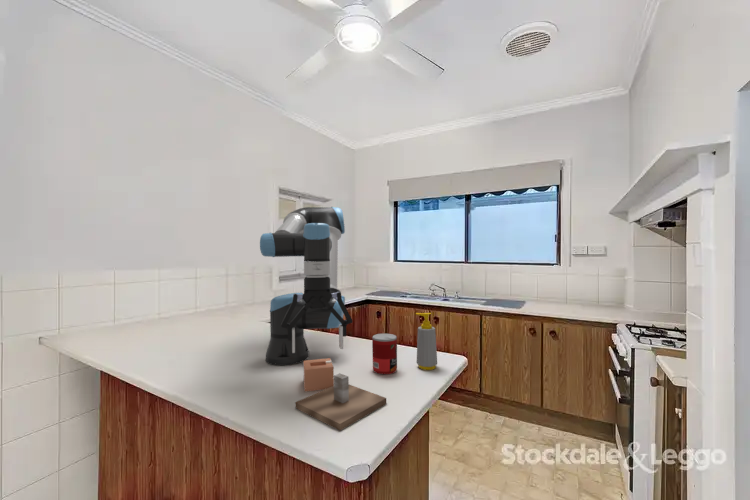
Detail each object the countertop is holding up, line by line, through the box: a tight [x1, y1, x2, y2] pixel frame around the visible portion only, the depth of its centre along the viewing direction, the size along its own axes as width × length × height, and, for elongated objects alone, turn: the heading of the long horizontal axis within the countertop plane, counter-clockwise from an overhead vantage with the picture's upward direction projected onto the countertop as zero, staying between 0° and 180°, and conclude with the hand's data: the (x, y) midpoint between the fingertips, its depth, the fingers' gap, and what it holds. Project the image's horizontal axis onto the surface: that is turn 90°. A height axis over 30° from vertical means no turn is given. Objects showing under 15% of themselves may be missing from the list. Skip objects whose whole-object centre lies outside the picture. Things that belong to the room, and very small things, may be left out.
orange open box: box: [303, 357, 335, 392], centre depth 95 cm, size 8×8×6 cm
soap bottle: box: [415, 312, 438, 371], centre depth 108 cm, size 7×7×18 cm
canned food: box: [371, 333, 398, 375], centre depth 106 cm, size 8×8×11 cm
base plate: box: [294, 372, 387, 431], centre depth 82 cm, size 16×16×8 cm
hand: (317, 349), depth 95 cm, fingers open, 13 cm apart
